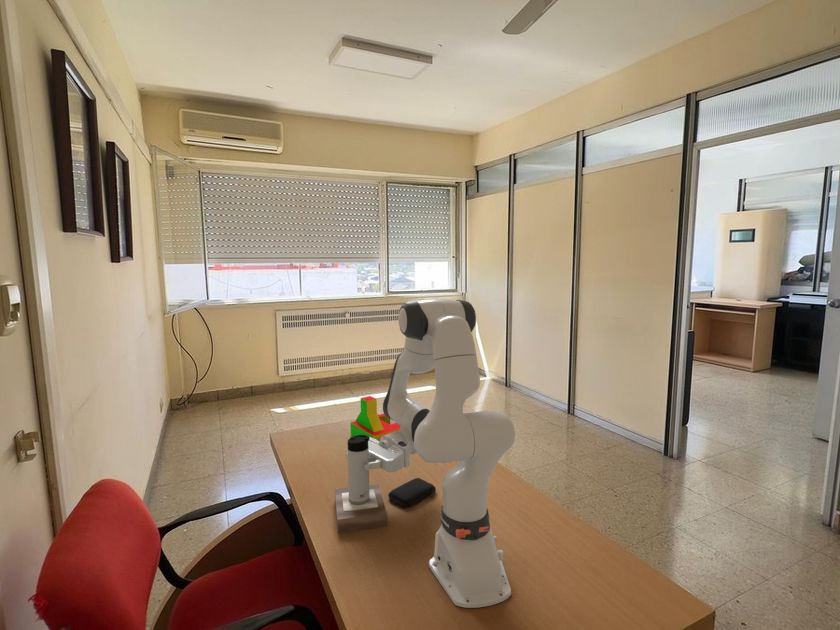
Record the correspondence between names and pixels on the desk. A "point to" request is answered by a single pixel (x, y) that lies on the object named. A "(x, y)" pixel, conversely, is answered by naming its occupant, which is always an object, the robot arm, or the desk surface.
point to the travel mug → (358, 469)
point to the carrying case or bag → (412, 492)
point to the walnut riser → (360, 510)
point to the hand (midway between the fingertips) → (355, 461)
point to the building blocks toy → (372, 421)
